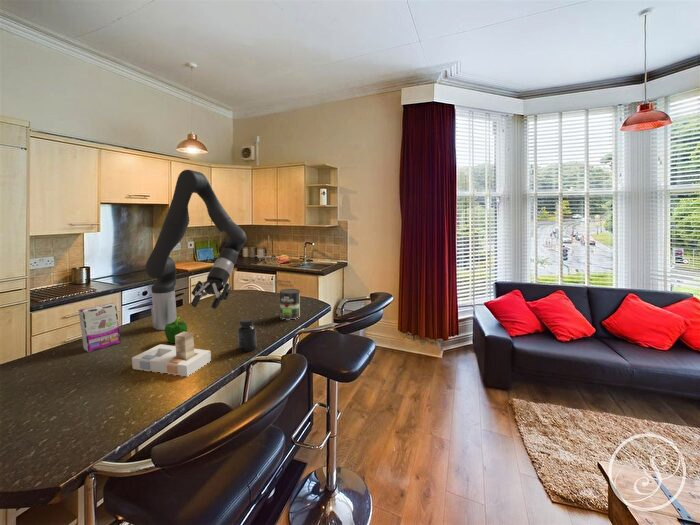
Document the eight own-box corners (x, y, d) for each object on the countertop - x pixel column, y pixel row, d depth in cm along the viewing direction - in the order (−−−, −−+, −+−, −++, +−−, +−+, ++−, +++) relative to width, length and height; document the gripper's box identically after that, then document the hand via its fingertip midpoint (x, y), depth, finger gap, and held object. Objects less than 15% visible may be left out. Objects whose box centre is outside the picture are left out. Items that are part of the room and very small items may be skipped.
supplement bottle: (249, 344, 132) (248, 316, 131) (260, 348, 129) (259, 319, 127) (234, 349, 127) (233, 320, 125) (246, 354, 123) (244, 324, 121)
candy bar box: (115, 340, 134) (111, 302, 132) (121, 343, 132) (117, 304, 129) (82, 349, 125) (77, 309, 122) (88, 352, 122) (83, 311, 120)
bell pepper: (176, 346, 129) (174, 323, 127) (161, 343, 132) (159, 320, 130) (193, 339, 137) (191, 316, 135) (178, 336, 139) (177, 314, 138)
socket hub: (131, 369, 110) (130, 357, 109) (160, 354, 122) (159, 343, 121) (186, 377, 105) (185, 365, 104) (211, 361, 117) (210, 349, 116)
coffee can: (296, 321, 161) (296, 293, 159) (277, 319, 163) (276, 292, 161) (302, 314, 171) (302, 289, 169) (284, 313, 173) (284, 288, 171)
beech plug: (177, 368, 111) (174, 335, 109) (185, 363, 115) (183, 331, 113) (186, 370, 110) (184, 336, 108) (195, 365, 114) (193, 332, 112)
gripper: (200, 265, 128) (181, 300, 118) (232, 267, 124) (215, 303, 115) (210, 275, 134) (192, 310, 124) (240, 278, 130) (224, 313, 121)
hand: (203, 307), depth 120 cm, fingers open, 8 cm apart
